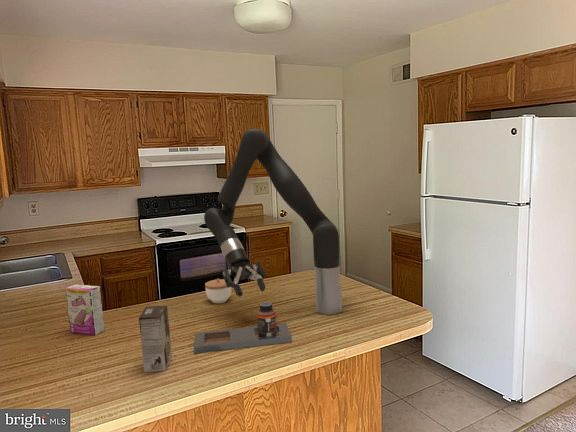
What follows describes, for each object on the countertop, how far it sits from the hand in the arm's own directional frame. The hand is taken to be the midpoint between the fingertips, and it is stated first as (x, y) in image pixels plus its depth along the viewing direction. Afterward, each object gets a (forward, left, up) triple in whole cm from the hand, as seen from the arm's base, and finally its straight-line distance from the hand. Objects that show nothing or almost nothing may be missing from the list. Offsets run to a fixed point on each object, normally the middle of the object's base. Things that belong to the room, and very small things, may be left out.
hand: (252, 292), depth 146 cm
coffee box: (+29, +18, -13) cm, 37 cm away
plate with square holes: (+4, +8, -13) cm, 16 cm away
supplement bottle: (-4, +8, -13) cm, 16 cm away
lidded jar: (+11, -34, -13) cm, 39 cm away
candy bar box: (+57, -14, -13) cm, 61 cm away
